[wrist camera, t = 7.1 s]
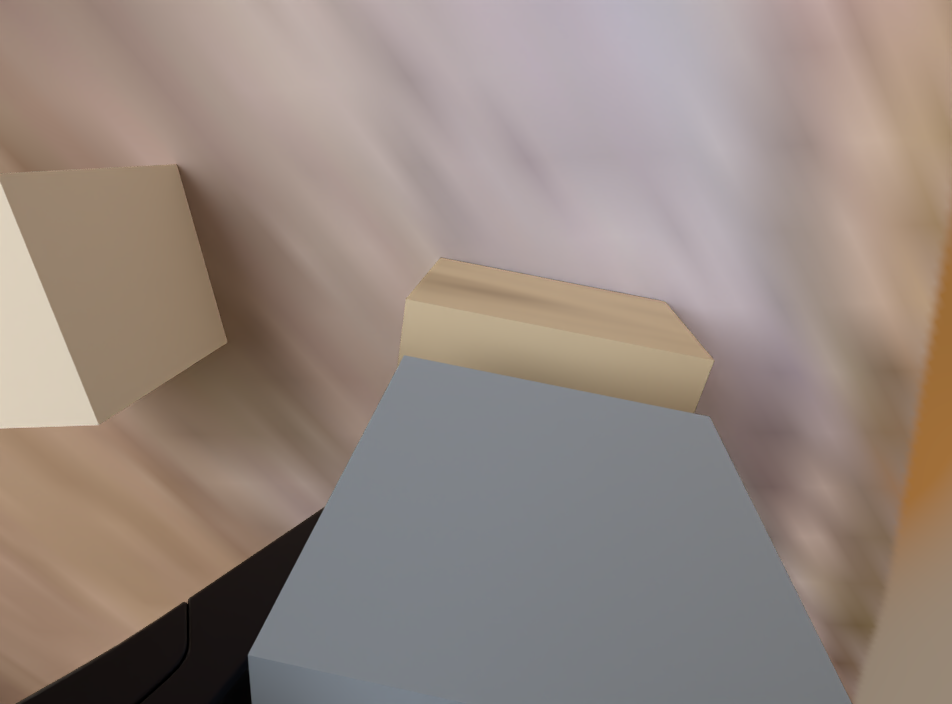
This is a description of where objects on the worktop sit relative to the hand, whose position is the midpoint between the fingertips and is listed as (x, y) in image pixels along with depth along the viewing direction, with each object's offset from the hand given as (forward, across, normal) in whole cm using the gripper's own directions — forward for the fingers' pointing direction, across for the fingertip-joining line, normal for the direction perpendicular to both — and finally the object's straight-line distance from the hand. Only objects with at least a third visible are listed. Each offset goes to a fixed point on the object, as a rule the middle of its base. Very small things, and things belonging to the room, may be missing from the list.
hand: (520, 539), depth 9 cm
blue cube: (+1, 0, 0) cm, 1 cm away
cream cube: (+6, +12, -1) cm, 14 cm away
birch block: (+6, 0, 0) cm, 6 cm away
